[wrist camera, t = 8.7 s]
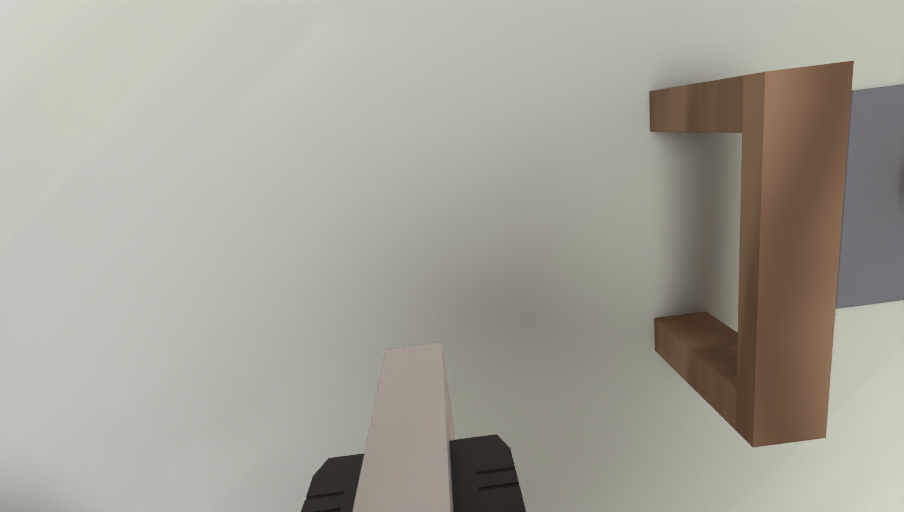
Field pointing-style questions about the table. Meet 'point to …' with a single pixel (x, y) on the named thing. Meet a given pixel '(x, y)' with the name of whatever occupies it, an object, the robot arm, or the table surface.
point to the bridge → (770, 248)
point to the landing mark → (873, 200)
